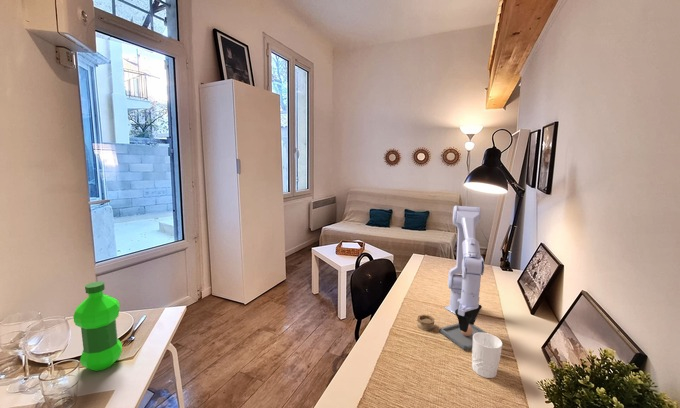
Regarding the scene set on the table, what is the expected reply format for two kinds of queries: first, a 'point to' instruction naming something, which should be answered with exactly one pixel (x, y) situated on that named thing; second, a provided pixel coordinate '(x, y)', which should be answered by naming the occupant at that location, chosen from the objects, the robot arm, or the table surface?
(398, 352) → the table surface
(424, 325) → the egg cup
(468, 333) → the ball
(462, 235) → the robot arm
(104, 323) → the plastic bottle
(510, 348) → the table surface
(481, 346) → the white cup
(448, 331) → the tray
